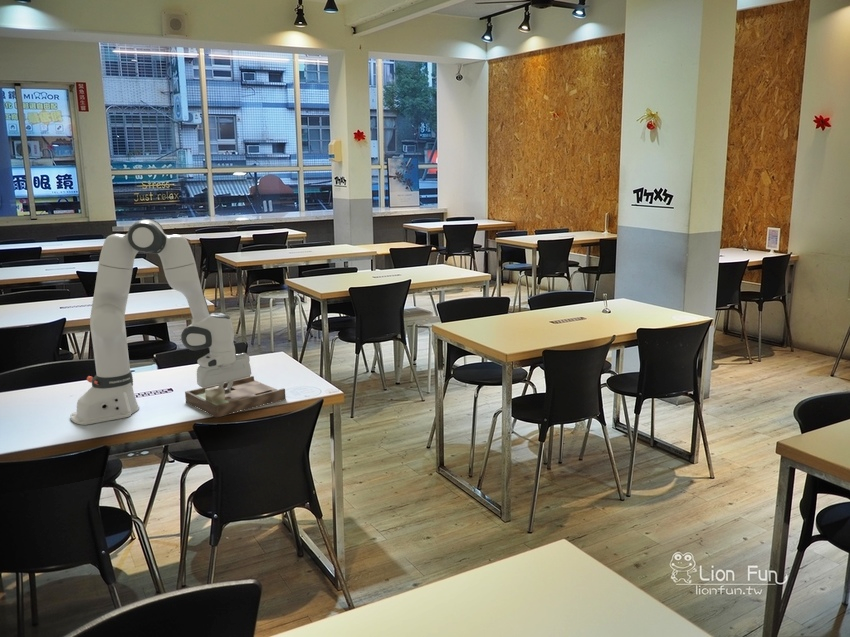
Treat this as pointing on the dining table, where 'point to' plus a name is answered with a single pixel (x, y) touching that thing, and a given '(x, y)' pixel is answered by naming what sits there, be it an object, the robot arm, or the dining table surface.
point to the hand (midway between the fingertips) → (226, 393)
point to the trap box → (236, 397)
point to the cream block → (214, 394)
